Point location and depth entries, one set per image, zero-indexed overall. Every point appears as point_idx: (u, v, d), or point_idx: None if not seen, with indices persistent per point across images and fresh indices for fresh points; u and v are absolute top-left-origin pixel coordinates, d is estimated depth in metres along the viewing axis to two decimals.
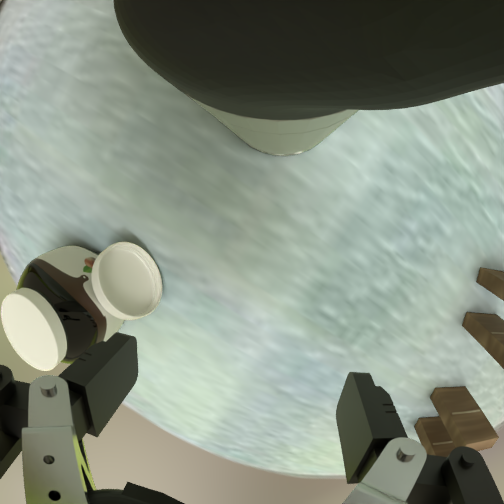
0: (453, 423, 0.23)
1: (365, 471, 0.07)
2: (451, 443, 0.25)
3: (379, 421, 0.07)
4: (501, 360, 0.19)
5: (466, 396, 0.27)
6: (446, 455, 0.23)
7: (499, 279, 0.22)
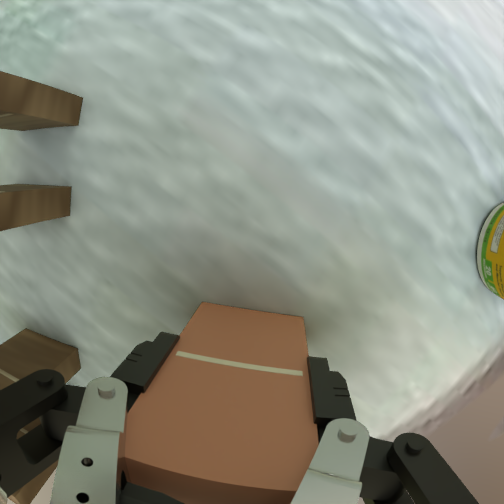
0: None
1: None
2: None
3: (326, 402, 0.08)
4: None
5: (48, 359, 0.15)
6: None
7: None
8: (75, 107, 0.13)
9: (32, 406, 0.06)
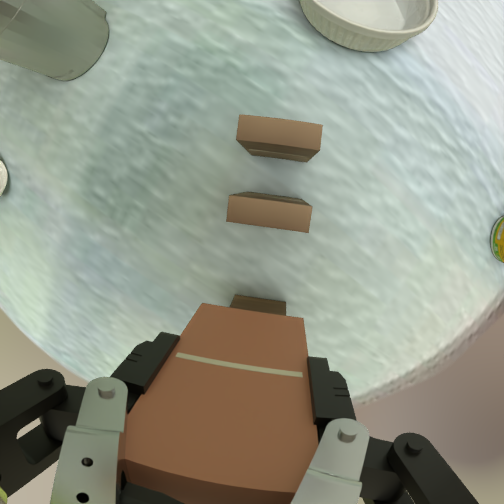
0: None
1: None
2: None
3: (326, 402, 0.08)
4: None
5: (275, 308, 0.28)
6: None
7: None
8: None
9: (32, 406, 0.06)
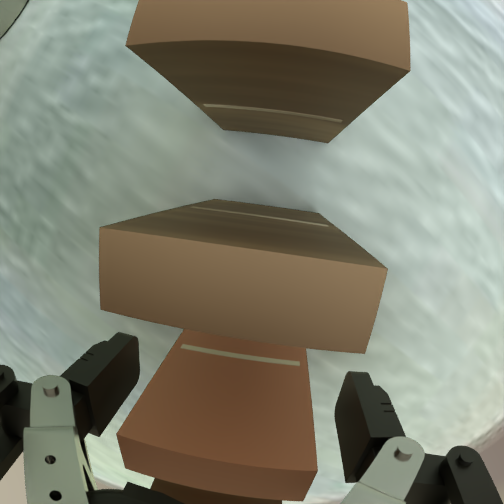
0: None
1: (363, 470, 0.07)
2: None
3: (377, 420, 0.07)
4: None
5: None
6: None
7: None
8: None
9: None
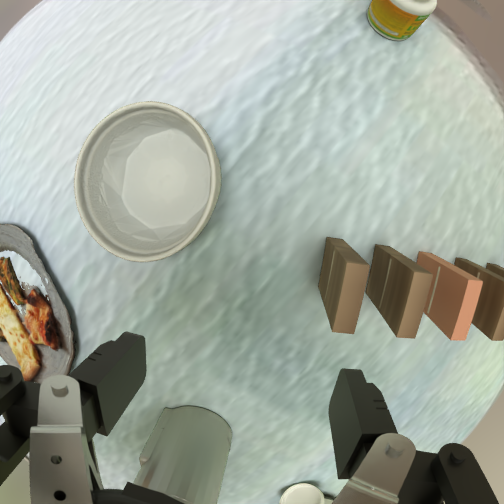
0: None
1: (355, 466, 0.07)
2: None
3: (369, 417, 0.07)
4: None
5: None
6: None
7: (323, 299, 0.27)
8: (334, 238, 0.29)
9: None
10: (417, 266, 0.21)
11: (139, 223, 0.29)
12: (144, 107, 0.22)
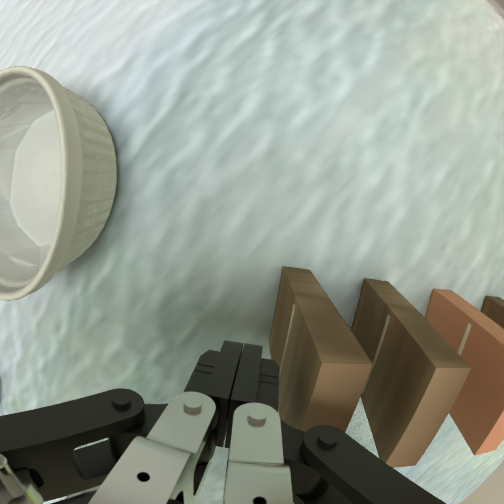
0: None
1: None
2: None
3: (246, 386, 0.09)
4: None
5: (497, 319, 0.15)
6: None
7: None
8: (295, 270, 0.17)
9: (97, 427, 0.06)
10: (439, 341, 0.10)
11: (25, 238, 0.18)
12: (5, 77, 0.11)
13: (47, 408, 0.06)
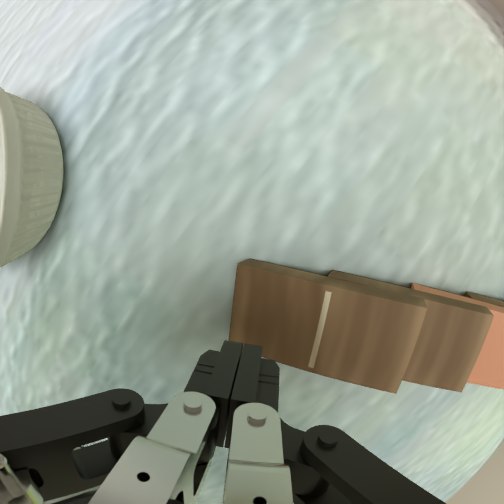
0: None
1: None
2: None
3: (246, 386, 0.09)
4: None
5: None
6: None
7: (287, 363, 0.16)
8: (251, 263, 0.17)
9: (97, 427, 0.06)
10: (460, 302, 0.14)
11: None
12: None
13: (47, 408, 0.06)
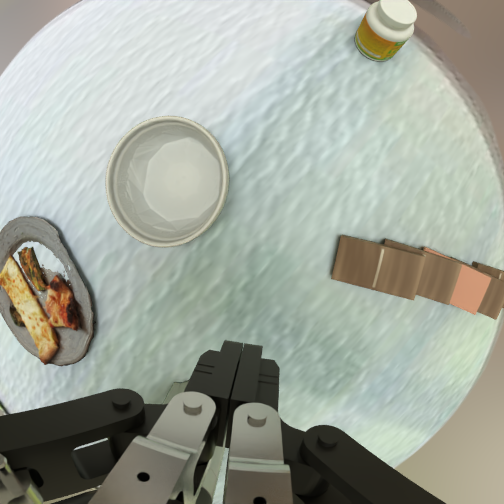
0: None
1: None
2: None
3: (246, 386, 0.09)
4: None
5: None
6: None
7: (362, 286, 0.33)
8: (346, 236, 0.34)
9: (97, 427, 0.06)
10: (445, 258, 0.31)
11: (158, 216, 0.35)
12: (167, 120, 0.28)
13: (47, 408, 0.06)
